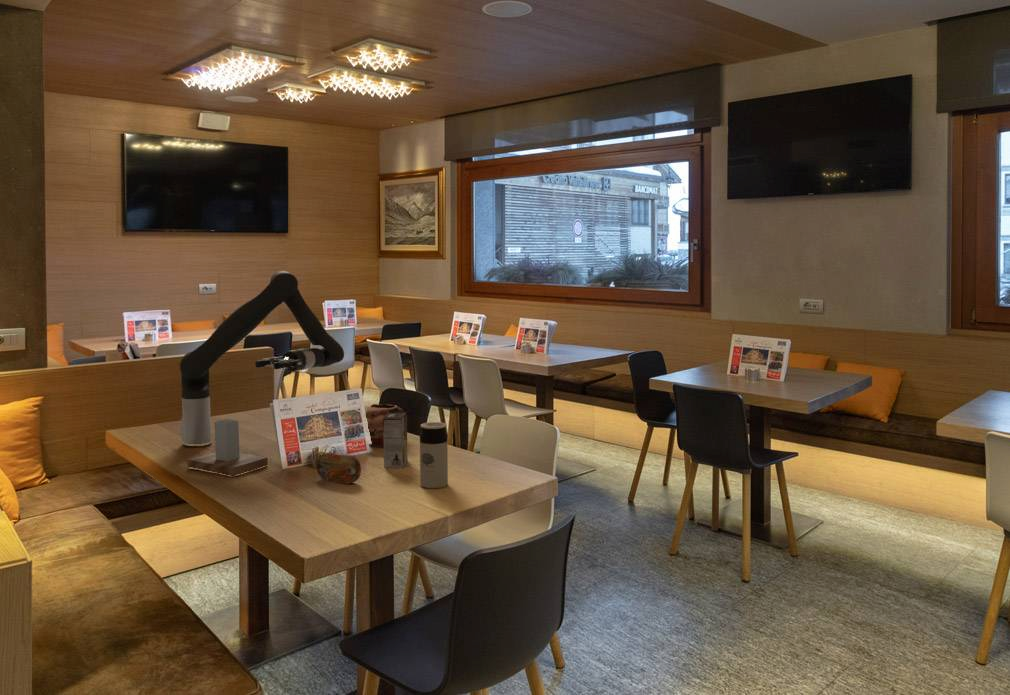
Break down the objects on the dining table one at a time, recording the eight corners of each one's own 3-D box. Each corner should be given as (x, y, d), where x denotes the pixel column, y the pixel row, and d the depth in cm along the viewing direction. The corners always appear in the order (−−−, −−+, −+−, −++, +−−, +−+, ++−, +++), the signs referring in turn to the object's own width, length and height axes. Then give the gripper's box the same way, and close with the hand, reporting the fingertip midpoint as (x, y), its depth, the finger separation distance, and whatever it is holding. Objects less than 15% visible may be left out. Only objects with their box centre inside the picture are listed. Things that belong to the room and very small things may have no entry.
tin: (316, 479, 232) (315, 452, 231) (323, 477, 235) (322, 449, 234) (356, 486, 225) (355, 458, 224) (362, 483, 228) (362, 455, 227)
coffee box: (388, 460, 254) (387, 412, 252) (407, 460, 254) (407, 412, 252) (383, 467, 245) (382, 418, 243) (403, 468, 245) (402, 418, 243)
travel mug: (433, 479, 231) (433, 420, 229) (453, 484, 226) (452, 424, 224) (414, 485, 225) (413, 425, 223) (434, 490, 220) (433, 428, 218)
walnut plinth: (187, 469, 244) (187, 459, 243) (223, 459, 256) (222, 450, 255) (233, 477, 234) (232, 467, 234) (267, 466, 246) (267, 457, 246)
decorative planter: (388, 436, 290) (387, 399, 288) (415, 439, 284) (414, 402, 283) (354, 447, 272) (353, 408, 271) (382, 451, 266) (382, 411, 265)
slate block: (215, 459, 244) (214, 421, 242) (228, 455, 248) (227, 419, 247) (227, 461, 241) (225, 423, 240) (239, 457, 246) (238, 420, 244)
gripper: (284, 348, 279) (249, 353, 265) (314, 350, 272) (280, 355, 258) (284, 369, 280) (250, 374, 266) (314, 371, 273) (281, 377, 259)
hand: (265, 365), depth 262 cm, fingers open, 8 cm apart
